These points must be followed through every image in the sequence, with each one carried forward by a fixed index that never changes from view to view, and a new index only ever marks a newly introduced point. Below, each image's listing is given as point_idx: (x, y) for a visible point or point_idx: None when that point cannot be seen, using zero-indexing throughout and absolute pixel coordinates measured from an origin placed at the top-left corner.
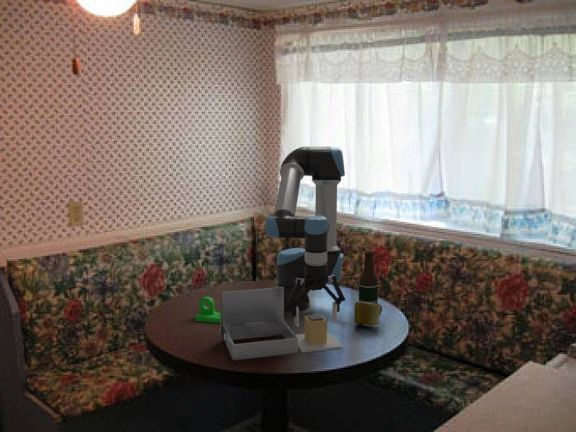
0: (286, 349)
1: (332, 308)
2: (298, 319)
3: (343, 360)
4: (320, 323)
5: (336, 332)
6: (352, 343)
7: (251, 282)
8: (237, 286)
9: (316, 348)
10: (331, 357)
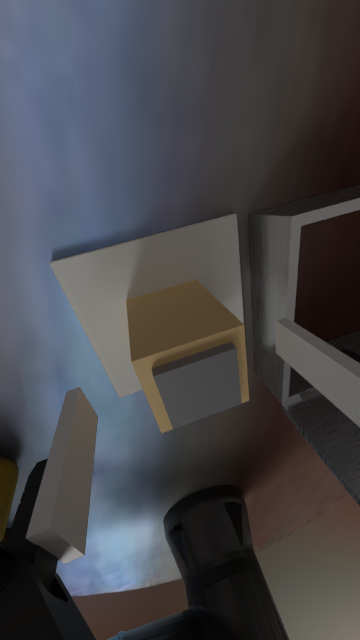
0: (306, 201)
1: (90, 485)
2: (306, 339)
3: (22, 67)
4: (171, 337)
5: (89, 401)
6: (5, 314)
7: (255, 548)
8: (279, 531)
9: (173, 239)
10: (101, 135)
